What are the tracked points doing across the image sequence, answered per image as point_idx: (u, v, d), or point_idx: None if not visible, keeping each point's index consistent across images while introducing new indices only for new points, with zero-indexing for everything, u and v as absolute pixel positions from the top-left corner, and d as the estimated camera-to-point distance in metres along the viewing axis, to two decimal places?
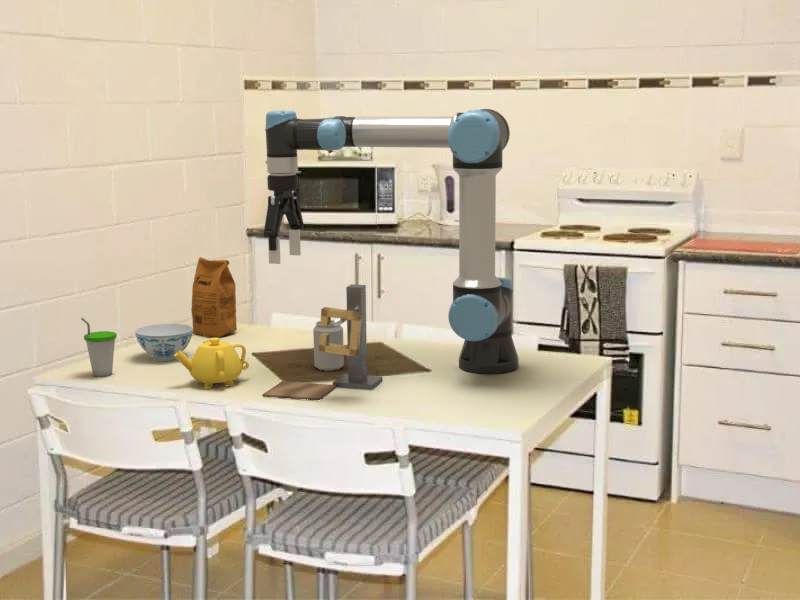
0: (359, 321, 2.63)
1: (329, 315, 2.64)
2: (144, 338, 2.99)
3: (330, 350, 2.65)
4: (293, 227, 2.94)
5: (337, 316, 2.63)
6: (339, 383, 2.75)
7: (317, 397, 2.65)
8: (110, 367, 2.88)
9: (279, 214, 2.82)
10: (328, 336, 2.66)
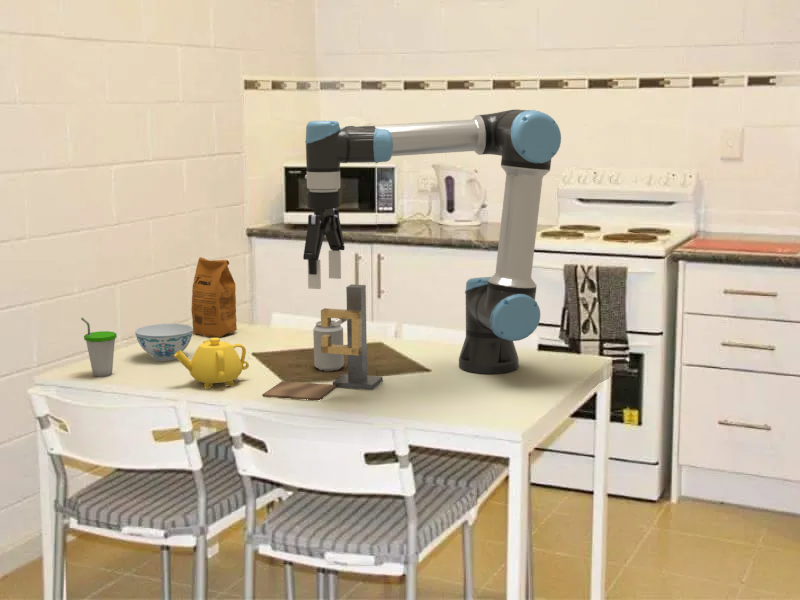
0: (359, 320, 2.63)
1: (329, 316, 2.64)
2: (144, 338, 2.99)
3: (332, 351, 2.65)
4: (333, 248, 2.69)
5: (337, 316, 2.63)
6: (339, 383, 2.75)
7: (317, 397, 2.65)
8: (110, 367, 2.88)
9: (320, 234, 2.57)
10: (330, 337, 2.66)
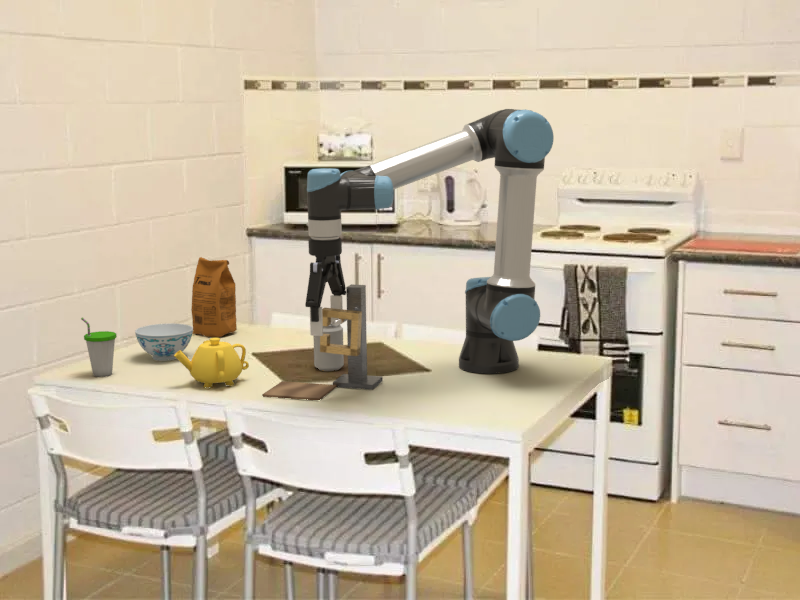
0: (359, 320, 2.63)
1: (329, 315, 2.64)
2: (144, 338, 2.99)
3: (331, 350, 2.65)
4: (335, 293, 2.71)
5: (337, 316, 2.63)
6: (339, 383, 2.75)
7: (317, 397, 2.65)
8: (110, 367, 2.88)
9: (322, 282, 2.59)
10: (329, 336, 2.66)
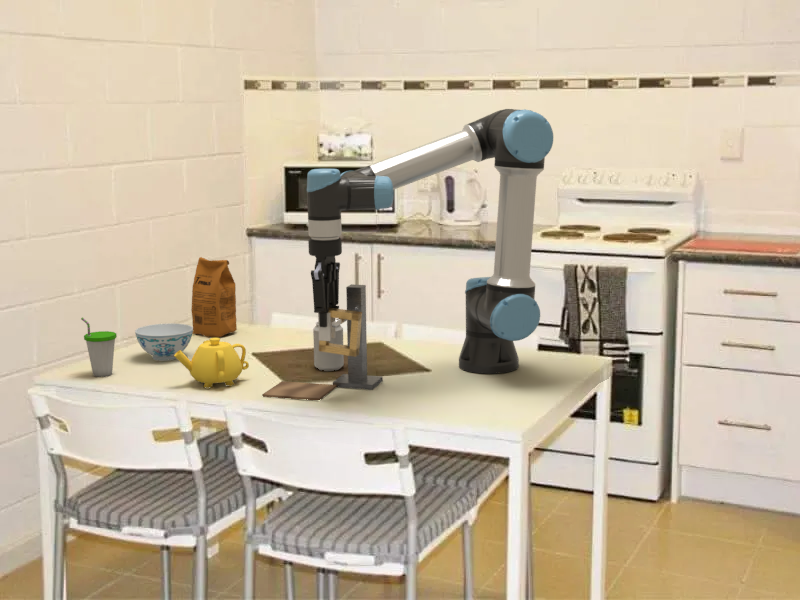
0: (359, 321, 2.63)
1: None
2: (144, 338, 2.99)
3: (330, 350, 2.65)
4: None
5: (337, 316, 2.63)
6: (339, 383, 2.75)
7: (317, 397, 2.65)
8: (110, 367, 2.88)
9: (325, 286, 2.61)
10: None
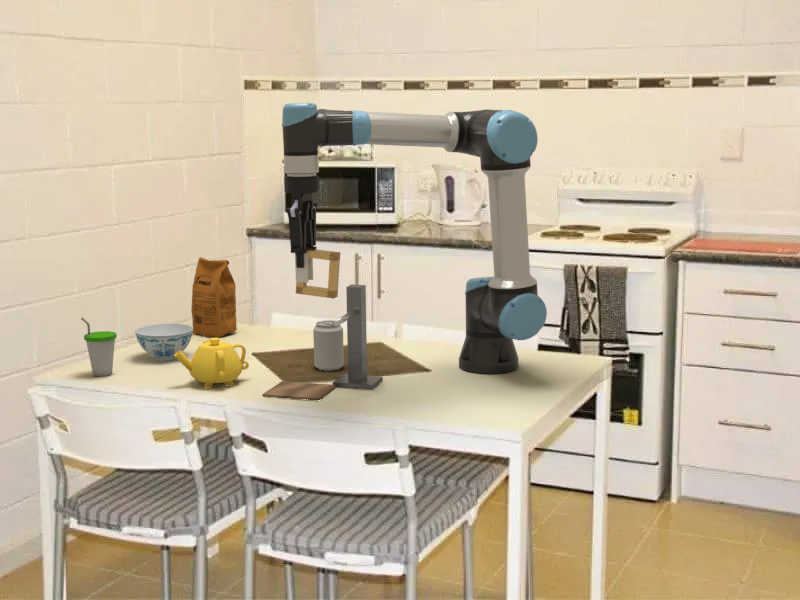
0: (337, 261, 2.54)
1: None
2: (144, 338, 2.99)
3: (307, 292, 2.56)
4: None
5: (315, 256, 2.54)
6: (339, 383, 2.75)
7: (317, 397, 2.65)
8: (110, 367, 2.88)
9: (302, 225, 2.52)
10: None
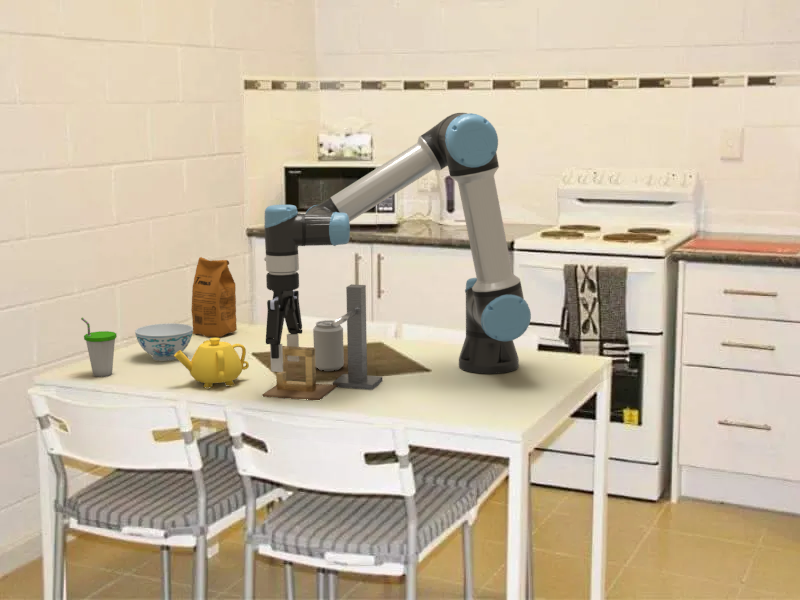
0: (313, 357, 2.69)
1: (283, 353, 2.70)
2: (144, 338, 2.99)
3: (287, 387, 2.71)
4: (291, 331, 2.76)
5: (291, 354, 2.69)
6: (339, 383, 2.75)
7: (317, 397, 2.65)
8: (110, 367, 2.88)
9: (280, 318, 2.65)
10: (285, 374, 2.72)
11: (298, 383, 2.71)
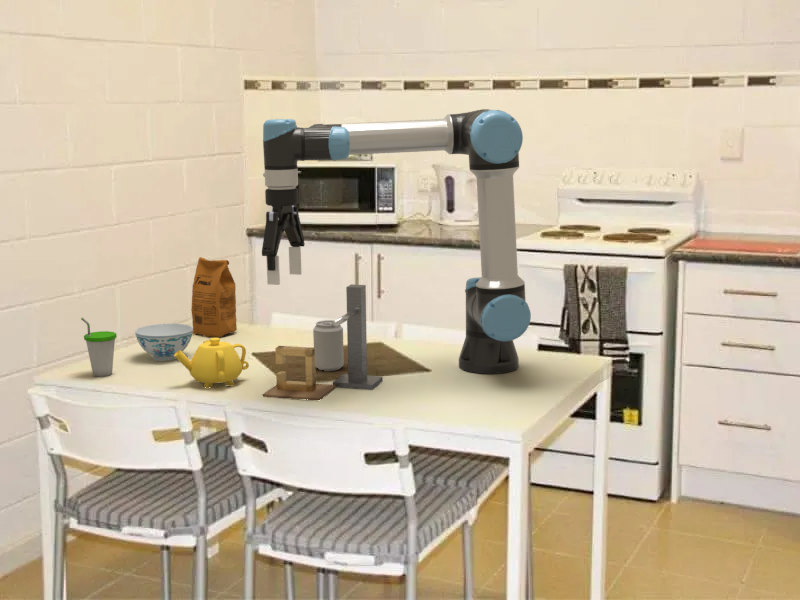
0: (313, 357, 2.69)
1: (283, 353, 2.70)
2: (144, 338, 2.99)
3: (287, 387, 2.71)
4: (293, 244, 2.73)
5: (291, 354, 2.69)
6: (339, 383, 2.75)
7: (317, 397, 2.65)
8: (110, 367, 2.88)
9: (278, 231, 2.61)
10: (285, 374, 2.72)
11: (298, 383, 2.71)
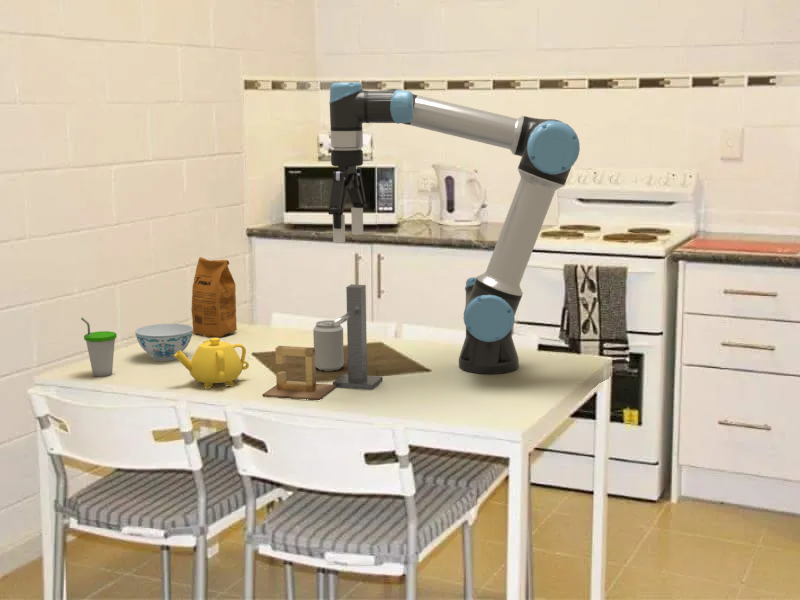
0: (313, 357, 2.69)
1: (283, 353, 2.70)
2: (144, 338, 2.99)
3: (287, 387, 2.71)
4: (356, 205, 2.82)
5: (291, 354, 2.69)
6: (339, 383, 2.75)
7: (317, 397, 2.65)
8: (110, 367, 2.88)
9: (344, 191, 2.69)
10: (285, 374, 2.72)
11: (298, 383, 2.71)
